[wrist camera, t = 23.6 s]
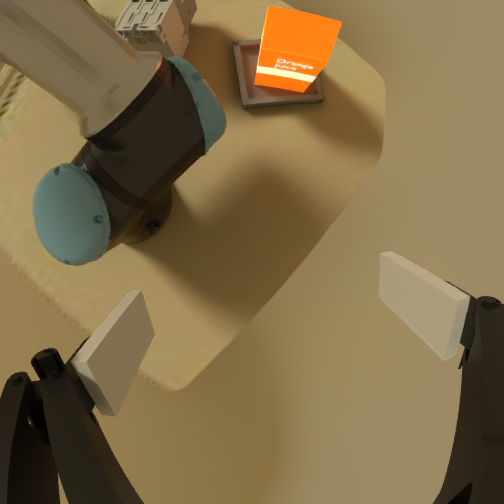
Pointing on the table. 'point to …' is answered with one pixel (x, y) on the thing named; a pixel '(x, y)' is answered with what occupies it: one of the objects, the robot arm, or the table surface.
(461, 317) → the robot arm
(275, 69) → the juice carton
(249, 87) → the tray
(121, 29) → the circuit breaker
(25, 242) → the table surface
